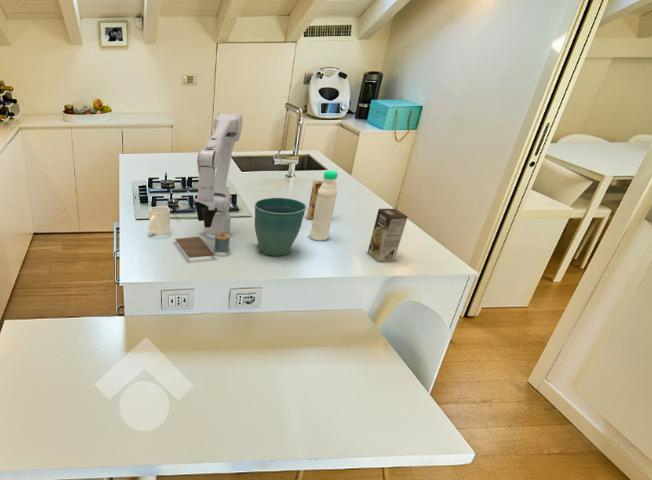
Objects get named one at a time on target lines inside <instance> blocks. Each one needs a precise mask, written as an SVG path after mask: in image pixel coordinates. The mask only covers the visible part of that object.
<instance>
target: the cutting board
mask: <svg viewBox="0 0 652 480" xmlns="http://www.w3.org/2000/svg"><path fill="white" fill-rule="evenodd" d="M174 239H175V241H176V243H177V244H178V245H179V247H180V248H181V250H182V251H183V252H184V254H185V255H186V256H187V258H188V259H192V258H193V259H194V258H202V257H204V258H205V257H214V256H215V253H214V252H213V251H212V250H211V249H210V247H209V246H208V245H207V244H206V243H205V242H204V241H203V238H201V236H191V237H181V238H179V237H178V238H174Z"/></svg>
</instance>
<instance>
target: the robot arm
mask: <svg viewBox="0 0 652 480" xmlns="http://www.w3.org/2000/svg"><path fill="white" fill-rule="evenodd" d="M242 129H243V115H242V114H241V113H239V114H234V113H233V114H232V113H219V112H217V113H215V116H214V118H213V135H211V136H210V137H208V139H207V141H206V143H205V145H204V147H203V149H201V150H199V151H198V153H197V157H196V165H197V173H198V185H197V186H198V189H197V194H196V198H194V201H193V204H194V206H195V210H196V215H197V220H198V221H199V222H203V226H204V228H205V233H206V234H209V235H213V236H215V235H216V234H218V233H228V234H229V233H231V222H232V221H231V220H232V218H231V213H230V212H229V211H230V208H231V199H232V195H231V192H230V191H229V190H228V188H226V186H227V181H228V176H229V170H230V165H231V161H232V155H233V150H234V149H233V148H234V146H235V143H236V142H239V141H240V138H241V134H242Z"/></svg>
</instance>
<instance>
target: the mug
mask: <svg viewBox="0 0 652 480" xmlns="http://www.w3.org/2000/svg"><path fill="white" fill-rule="evenodd" d="M148 211H149V213H148V214H149V217H148V219H149V221H148V232H149V234H150V235H151V236H152V235H156V236H163V235H168V234H169V233H171V208H170V207H168V206H164V205H159V206H157V205H156V206H152V207H150V208H149V209H148Z"/></svg>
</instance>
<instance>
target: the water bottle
mask: <svg viewBox="0 0 652 480" xmlns="http://www.w3.org/2000/svg"><path fill="white" fill-rule="evenodd" d="M337 178H338V172H337V171H336V170H326V171H324V172H323V181H324V182H323V183H322V185H321V187H320V188H319V190H318V193H317V194H318V196H317V200H316V204H315V210H314V218H313V219H312V222H311V228H310V232H309V237H310V239H312V240H315V241H326V240H328V238H329V235H330V228H331V224H332V219H333V214H334V211H335V206H336V205H335V204H336V200H337V198H336V197H337V195H338V188H337V183H336V184H335V182H336V180H337Z"/></svg>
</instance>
